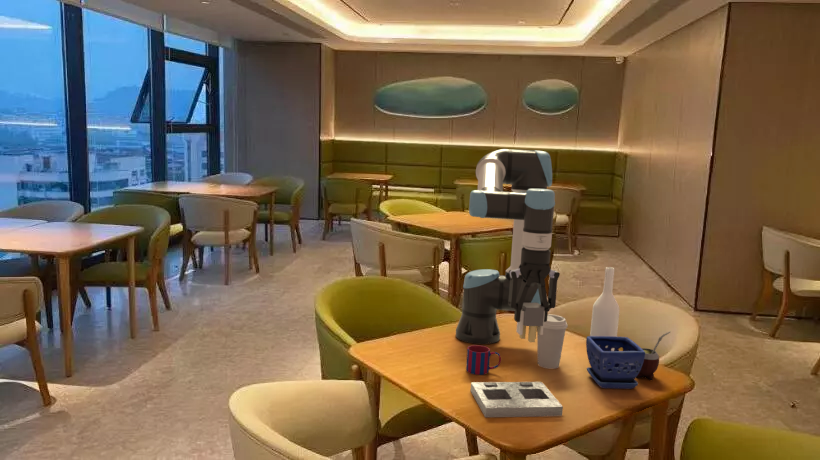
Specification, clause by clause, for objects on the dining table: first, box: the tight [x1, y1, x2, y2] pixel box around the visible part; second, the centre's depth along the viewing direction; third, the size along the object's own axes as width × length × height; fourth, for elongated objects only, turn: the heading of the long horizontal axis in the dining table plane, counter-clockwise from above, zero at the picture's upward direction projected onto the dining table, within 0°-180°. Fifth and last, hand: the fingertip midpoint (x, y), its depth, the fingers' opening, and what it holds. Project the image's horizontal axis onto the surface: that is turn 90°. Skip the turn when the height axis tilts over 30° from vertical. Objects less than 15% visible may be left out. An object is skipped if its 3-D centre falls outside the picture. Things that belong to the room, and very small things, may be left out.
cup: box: [465, 344, 502, 376], centre depth 189 cm, size 7×10×7 cm
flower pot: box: [585, 335, 645, 390], centre depth 185 cm, size 13×13×12 cm
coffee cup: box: [536, 313, 569, 370], centre depth 196 cm, size 10×10×15 cm
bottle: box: [589, 266, 620, 351], centre depth 202 cm, size 8×8×30 cm
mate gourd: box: [635, 331, 671, 381], centre depth 190 cm, size 8×8×15 cm
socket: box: [470, 381, 564, 418], centre depth 168 cm, size 16×20×3 cm
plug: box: [519, 303, 544, 343], centre depth 171 cm, size 5×5×10 cm
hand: (529, 333), depth 172 cm, fingers closed on plug, 5 cm apart
